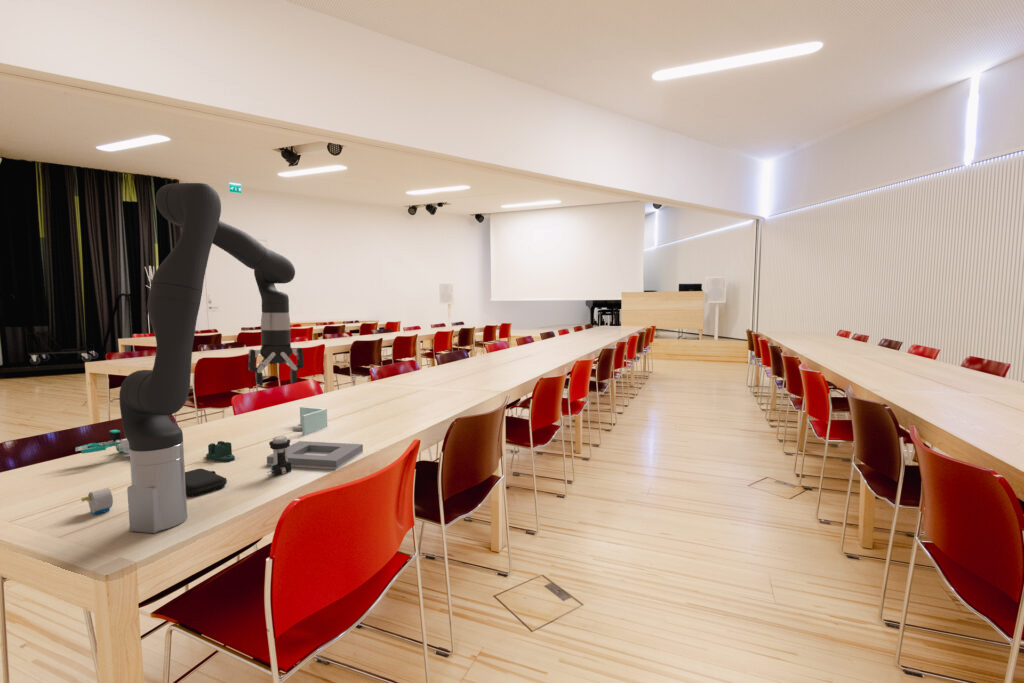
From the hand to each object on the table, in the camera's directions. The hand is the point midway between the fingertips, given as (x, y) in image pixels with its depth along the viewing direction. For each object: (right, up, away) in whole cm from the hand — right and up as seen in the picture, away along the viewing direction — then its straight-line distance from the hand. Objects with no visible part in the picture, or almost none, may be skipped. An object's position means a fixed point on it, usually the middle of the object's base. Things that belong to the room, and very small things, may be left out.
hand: (277, 384), depth 138 cm
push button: (+3, -25, -5) cm, 25 cm away
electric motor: (-26, -27, -30) cm, 48 cm away
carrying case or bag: (-13, -26, -14) cm, 32 cm away
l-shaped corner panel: (-10, -21, +41) cm, 48 cm away
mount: (-21, -24, +8) cm, 33 cm away
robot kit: (-49, -24, +9) cm, 55 cm away
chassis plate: (+8, -23, +8) cm, 26 cm away
